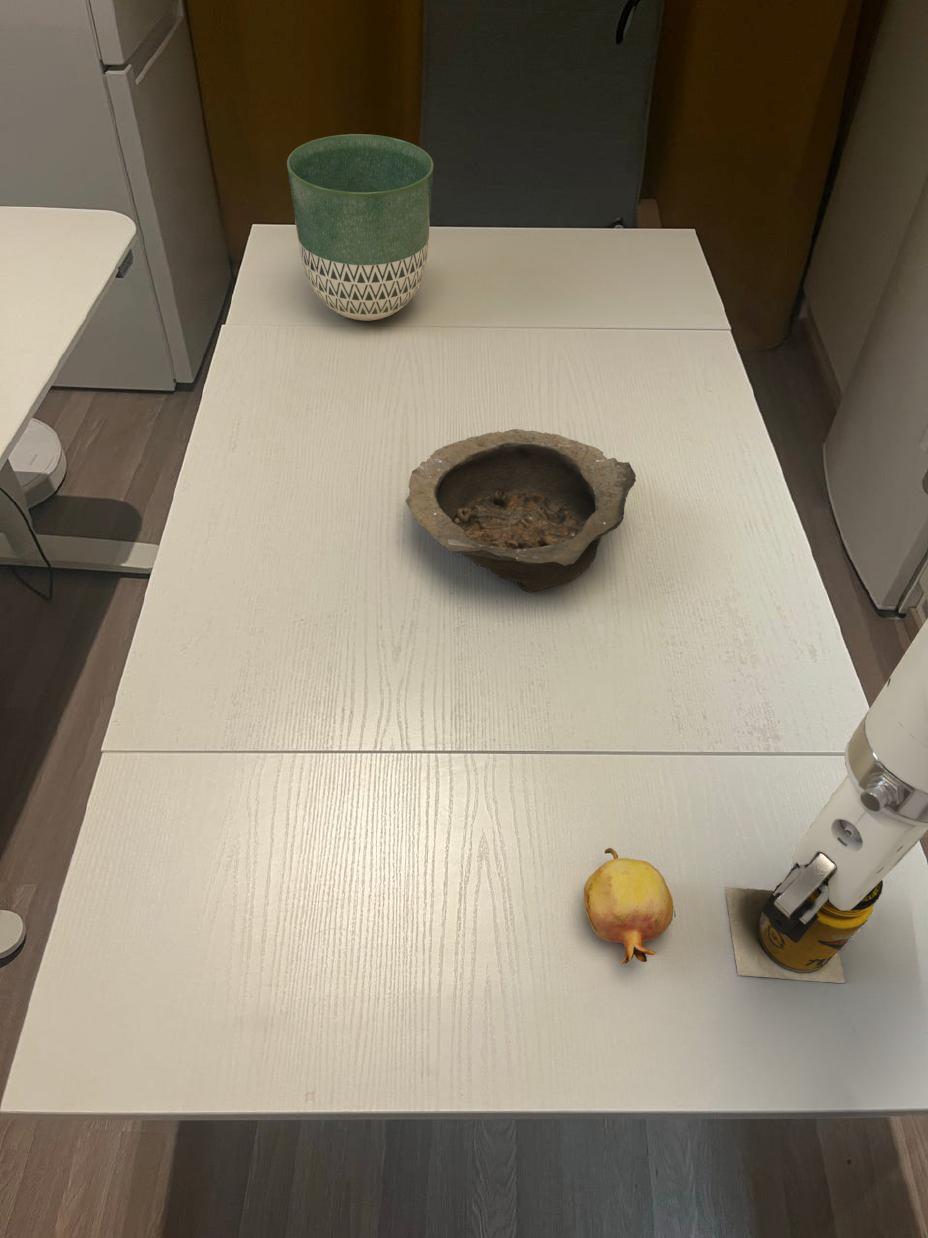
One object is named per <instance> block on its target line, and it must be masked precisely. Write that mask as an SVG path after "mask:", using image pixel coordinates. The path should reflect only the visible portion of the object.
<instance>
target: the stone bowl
mask: <svg viewBox="0 0 928 1238" xmlns="http://www.w3.org/2000/svg"><path fill="white" fill-rule="evenodd" d="M636 477H637V475H636V473H635V471H634V469H633V467H632V465H631V463H630V461H629V462H628V461H627V462H625V461H624V462H622V461H619V460H618V459H617V458H615V457H611V458H607V457H606V456H605V454H604V451H602V450H601V449H599V448H598V447H596V446H592V445H588V444H585V443H583V442H580V441H578V440H574V439H570V438H568V437H566V436H562V435H560V434H557V433H550V432H547V431H546V432H541V431H536V430H524V429H521V428H520V429H518V428H515V429H508V430H505V431H503V432H502V431H495V432H487V433H484V434H480V435H475V436H470V437H467V438H466V439H463V440H458V441H455V442H452V443H450V444H447V445H444V446H442V447H440V448H438V449H436V450H434V452H433V453H432V454H430V455H429V458H427V459H426V461H421V462H420V463H419V466H417V467H416V468H415V469H413V470H412V471H411V474H410V477H409V480H408V488H409V493H408V496H407V498H406V499H405V503H406V506H407V507H408V509H409V511H410V512H411V513H412V515H413V516H414V518H415V520H416V521H417V523H418V524H419V526H420V527H421V528H422V529H424V530H426V531H428V533H429V534H430V535H431V536H432V537H433V538H434V539H435V540H436V541H437V542H438V543H439V545H441V546H443V547H445V548H446V549H447V551H448V552H449V553H455V554H456V553H457V554H462V555H463V556H464V557H465V558H467V559H468V560H470V561H472V562H473V563H474V564H475V565H477V566H480V567H481V568H483V569H487V570H489V571H490V572H491V573H493V574H495V575H496V576H497V577H499V578H501V579H503V580H506V581H513V582H515V583H516V584H517V586H518V587H519V588H520V589H521V590H522V591H523V592H536V591H539V590H542V589H545V588H551V587H554V586H557V585H561V584H564V583H569V582H570V581H572V580H573V579H575V577H577V575H579V574H582V573H584V572H585V571H586V570H587V569H589V568H590V567H591V565H592V563H594V561H595V559H596V557H597V553H598V550H599V546H600V543H601V539H602V537H603V536H607V535H608V534H609V533H612V532H613V531H615V530H616V529H617V528H618V527H619V526H620V525H621V524H622V522H623V520H624V515H625V506H626V502H627V497H628V495H629V492H630V491H631V489H632V488H633V487H634V485H635V483H636V481H637V480H636Z"/></svg>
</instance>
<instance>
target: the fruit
mask: <svg viewBox="0 0 928 1238" xmlns="http://www.w3.org/2000/svg"><path fill="white" fill-rule="evenodd" d="M606 854H611V855H612V857H613V858H612V859H610V860H608V861H606V862H605V863H603V864H602V865H600V866H599V867H598V868H597V869H596V870H595V871H594V872H593V873H592V874H591V875H590V876H589V877H588V878H587V880H586V882H585V884H584V887H583V904H584V909H585V913H586V916H587V918H588V921H589V924H590V926H591V929H592V931H593V932H594V933H595V935H596V936H597V937H598V938H600V939H601V940H603V941H608V942H611V943H616V944H623V946H624V958H623V959H622V960H621V961H620V964H621V965H623V964H625V965H626V964H629V962H631V961H632V959H633V958H634V956H635V958H636V959H637V960H638V961H640V962H642V963H646V962H648V956H655V955H657V952H656V951H653V950H650V949H648V948H645V947H644V945H643V944H644V943H643V942H648V941H651V940H654V939H655V938H657V937H659V936H660V935H662V934H663V933H664V932H665V931H667V929H668V928H669V926H670V924H671V923H672V921H673V917H674V900H673V896H672V893H671V892H670V890H669V887H668V885H667V882H666V879H665V878H664V876H663V875H662V874H661V872H660V871H659V870H658V869H657V868H656V867H655V866H654V865H652V864H651V863H650V862H648V861H644V860H640V859H633V858H626V857H619V855H618V852H617V851H616V850H615V849H614V848H611V847H608V848H606V849H605V850H604V855H606ZM647 955H648V956H647Z"/></svg>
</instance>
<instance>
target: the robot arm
mask: <svg viewBox="0 0 928 1238" xmlns="http://www.w3.org/2000/svg"><path fill="white" fill-rule="evenodd" d="M844 764H845V768H846V773H847V774H846V775H845V777H844V779H843V780H842V781H841V782H840V784H839V785H838V786H837V788H836V790H835V791H833V792H832V793H831V796H830V798H829V799H828V800H827V801H826V803H825V805H824V806H823V807H822V809H821V810H820V812H819V813H818V815H817V816H816V817H815V819H814V820H813V822H812V823H811V825H810V826H809V828H808V829H807V830H806V832H805V834H803V836H802V838H801V840H800V841H799V843H798V844H797V846H796V848H795V849H794V851H793V853H792V855H791V865H792V868H795V867H796V868H795V869H794V871H793V872H792V873H791V874H790V875H789V876H788V877H787V878H786V877H785V878H786V880H785V881H784V880H783V881H784V882H783V881H782V882H783V883H782V882H780V883H778V885H777V886H776V887H775V888H774V890H772V891H773V893H772V894H771V896H770V897H769V899H768V900H767V902H766V903H765V904H764V906H763V907H762V912H763V913H764V915H765V916H767V917H768V919H769V922H770V924H771V925H772V926H773V927H774V928H775V929H776V930H777V931H778V932H780V933H781V934H784V935H786V936H787V937H789V938H790V939H791V940H792V941H793V942H795V943H797V942H799V941H800V940H801V939H802V937H803V936H804V935H805V934H806V932H807V931H808V930H809V929H810V928H811V926H812V925H813V924H814V923H815V921H816V920H817V919H818V918H819V916H818V915H817V912H818V911H819V910H820V909H821V908H822V906H823V905H824V904H825V903H826V902H827V901H828V900H829V901H830V902H831V903H832V904H833V905H834V906H835V907H837V908H838V909H839V910H842V911H846V910H851V909H852V908H853V907H855V906H856V905H857V904H858V903H859V902H860V901H861V900H862V899H863V898H864V897H865V896H866V895H867V894H868V893H869V892H870V891H871V890H872V889H873V888H874V887H875V886H876V885H877V884H878V883H879V882H880V881H881V880H884V878H886V876H887V875H888V874H889V873H890V872H891V871H892V870H893V869H895V867H896V866H897V865H898V864H899V863H900V862H901V861H903V859H904V858H905V857H906V856H907V854H909V853H910V852H911V851H912V849H913V848H914V847H915V846H916V845H917V844H918V842H919V841H920V840H921V839H922V838H923V837H924V835H925V834H926V833H927V831H928V617H927V619H926V620H925V622H924V624H922V626H921V628H920V629H919V630H918V632H917V634H916V635H915V636H914V639H913V640H912V642H911V643H910V645H908V648H907V649H906V651H905V653H904V654H903V655H902V657H901V659H900V661H898V663H897V665H896V666H895V668H894V670H893V671H892V673H891V674H890V675H889V678H888V679H887V681H886V683H885V684H884V685H883V687H882V689H881V690H880V691H879V693H878V695H877V697H876V698H875V700H874V701H873V703H872V704H871V706H870V707H869V709H868V710H867V712H866V713H865V715H864V716H863V718H862V719H861V721H860V722H859V724H858V726H857V727H856V729H855V731H854V732H853V733H852V735H851V736H850V739H849V740H848V742H847V744H846V747H845V749H844ZM812 860H813V862H812V863H811V861H812ZM810 863H811V864H810ZM832 872H833V873H834V875H833V876H832V877H831V879H830V880H829V881H828V880H826V879H827V878H828V877H829V875H830V874H831V873H832ZM816 889H819V890H820V891H821V892H822V894H821V895H820V896H819V897H818V898H817V899H816V900H815V901H814V902H813V903H812V904H811V903H810V902H809V901H808V900H807V898H808V897H809V896H810V895H811V894H812V893H813V892H814V891H815V890H816Z"/></svg>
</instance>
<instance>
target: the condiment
mask: <svg viewBox="0 0 928 1238" xmlns="http://www.w3.org/2000/svg"><path fill="white" fill-rule="evenodd" d="M812 862H813V860H812V861H811V863H812ZM811 863H810V864H811ZM795 868H796V867H795ZM795 868H793V867H791V869H790V870H789V872H788V873H787V875H786V876H785V878H784V879H783V881H782V883H783V882H784V881H785V880H786V878H787V877H788V876H789V875H790V874H791V873H792V872H793V871H794V869H795ZM833 875H834V873H833V872H832V873H831V874H830V875H829V877H828V878H827V879H826V880H828V881H829V880H830V879H831V877H832V876H833ZM883 887H884V879H882V880H881V881H880V882H879V883H878V884H877V885H876V886H875V887H874V888H873V889H872V890H871V891H870V892H869V893H868V894H867V895H866V896H865V897H864V898H863V899H862V900H861V901H860V902H859V903H858V904H857V905H856V906H855V907H853V908H852V909H851V910H846V911H842V910H839V909H838V908H837V907H835V906H834V905H833V904H832V903H831V902H830V901H829V900H828V901H827V902H826V903H825V904H824V905H823V906H822V908H821V909H820V910H819V911H818V912H817V915H818V916H819V918H818V919H817V920H816V921H815V923H814V924H813V925H812V926H811V928H810V929H809V930H808V931H807V932H806V934H805V935H804V936H803V937H802V939H801V940H800V941H799V942H797V943H795V942H793V941H792V940H791V939H790V938H789V937H787V936H786V935H784V934H781V933H780V932H778V931H777V930H776V929H775V928H774V927H773V926H772V925H771V924H770V922H769V919H768V917H767V916H765V915H764V913H763V912H762V907H763V906H764V904H765V903H766V902H767V900H768V899H769V897H770V896H771V894H772V893H773V891H774V890H771V889H770V890H769V889H756V888H755V889H754V888H743V887H732V886H725V894H726V902H727V911H728V919H729V926H730V931H731V940H732V945H733V953H734V958H735V959H734V960H735V963H736V965H735V966H736V971H737V975H738V976H742V977H743V976H744V977H756V978H757V977H758V978H760V977H761V978H772V979H786V980H793V981H806V982H807V981H808V982H810V981H811V982H818V983H819V982H820V983H821V982H822V983H836V984H837V983H838V984H845V983H846V979H845V973H844V970H843V966H842V961H841V958H840V954H839V951H840V950H842V948H843V947H844V946H845V945H846V944H847V943H848V942H849V941H850V939H851V938H852V937H853V936H854V935H855V934H856V932H857V931H859V929H860V928H861V927H862V926H864V925H865V923H866V922H867V921H868V919H869V918H870V917H871V915H872V913H873V910H874V906H875V903H876V902H877V901H878V900H879V898H880V896H881V895H882V893H883ZM821 894H822V892H821V891H820V890H819V889H816V890H815V891H814V892H813V893H812V894H811V895H810V896H809V897H808V898H807V900H808V901H809V902H810V903H811V904H812V903H813V902H814V901H815V900H816V899H817V898H818V897H819V896H820V895H821Z"/></svg>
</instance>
